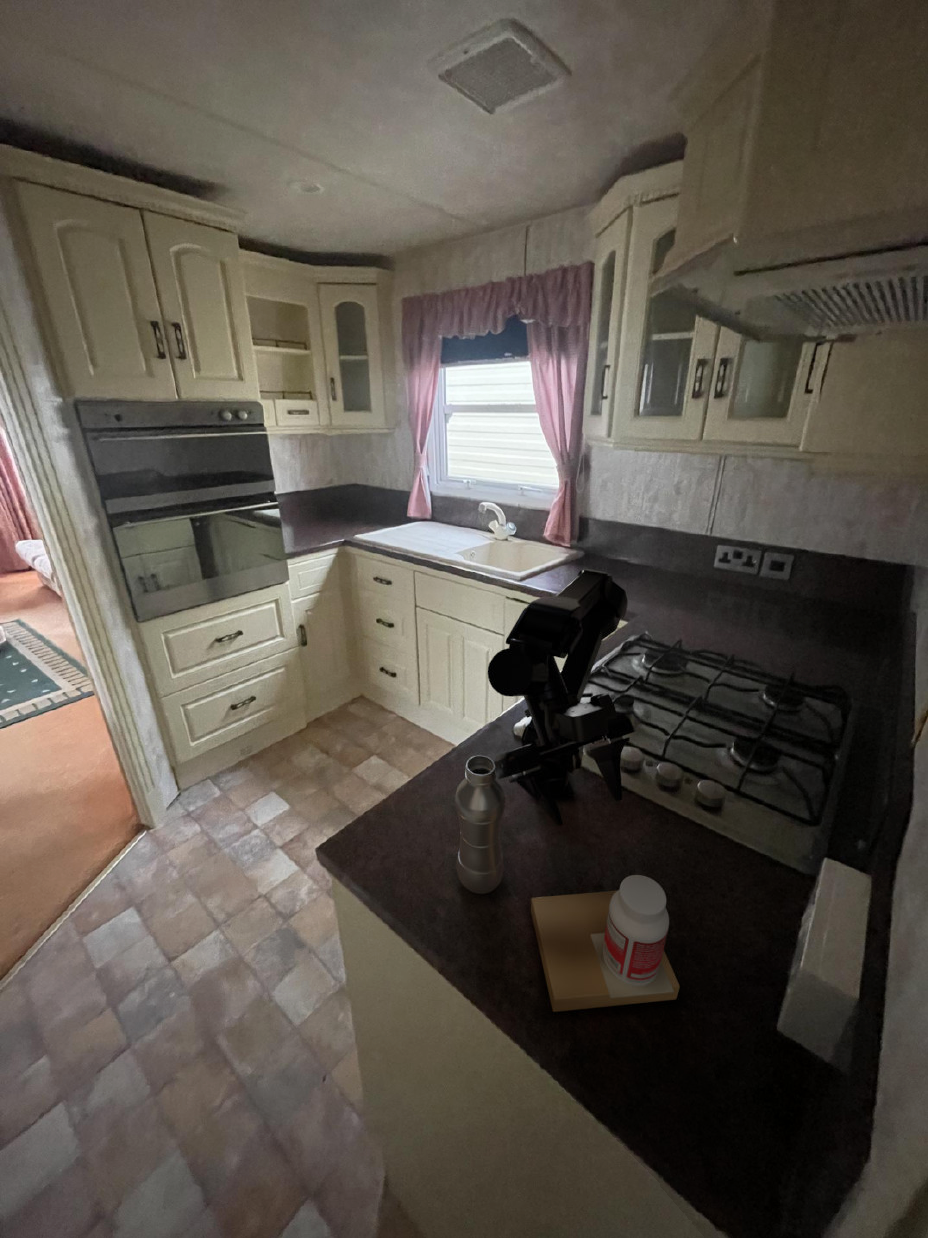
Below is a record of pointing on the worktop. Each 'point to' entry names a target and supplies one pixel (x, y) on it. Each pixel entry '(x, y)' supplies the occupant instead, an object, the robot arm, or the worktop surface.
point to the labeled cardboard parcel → (587, 955)
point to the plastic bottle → (480, 826)
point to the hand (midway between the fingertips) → (590, 812)
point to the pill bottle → (636, 930)
